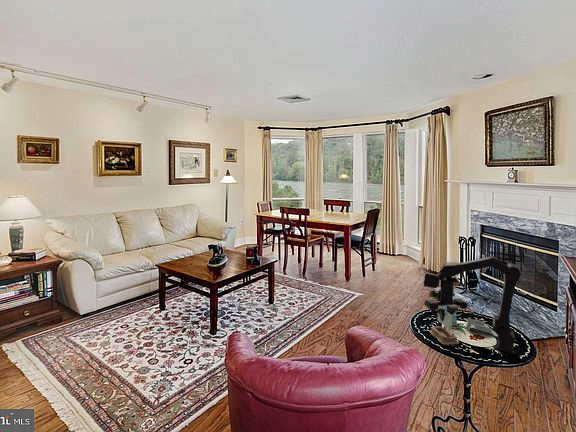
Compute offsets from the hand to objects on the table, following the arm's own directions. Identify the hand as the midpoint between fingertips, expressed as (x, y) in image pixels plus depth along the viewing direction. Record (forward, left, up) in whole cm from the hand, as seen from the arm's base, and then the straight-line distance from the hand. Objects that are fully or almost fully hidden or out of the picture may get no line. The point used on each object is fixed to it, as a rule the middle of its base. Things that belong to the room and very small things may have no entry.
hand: (444, 321), depth 165 cm
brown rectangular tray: (0, 0, -9) cm, 9 cm away
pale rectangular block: (0, 0, -1) cm, 1 cm away
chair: (+19, -13, -9) cm, 25 cm away
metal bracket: (+7, -23, -9) cm, 26 cm away
